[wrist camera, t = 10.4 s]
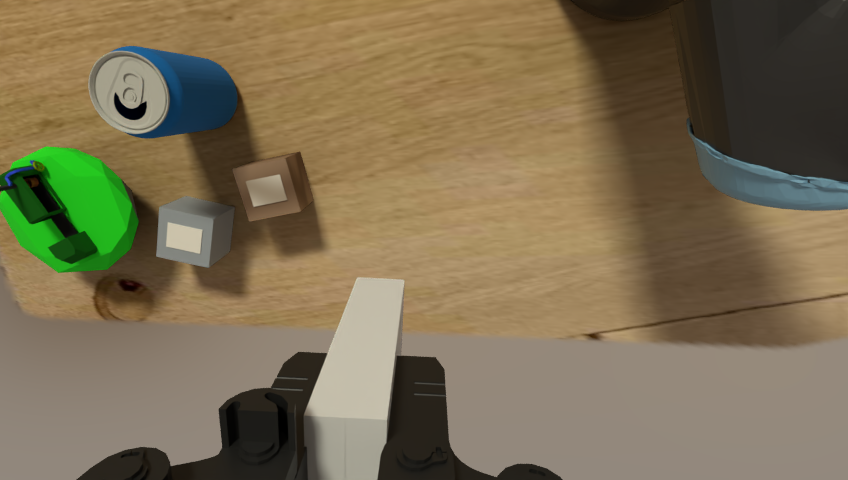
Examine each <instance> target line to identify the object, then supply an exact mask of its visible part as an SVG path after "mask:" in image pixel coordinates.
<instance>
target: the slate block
mask: <svg viewBox="0 0 848 480" xmlns="http://www.w3.org/2000/svg"><path fill="white" fill-rule="evenodd" d="M234 211H235V207H233V206H229V205H224V204H220V203H215V202H211V201H206V200H202V199H197V198H193V197H189V196H185V197H183V198H180V199H178V200H175V201H173V202H170V203H168V204H165V205H163V206H160V207H159V221H158V237H157V253H156V257H160V258H165V259H170V260H174V261H179V262H183V263H188V264H193V265H197V266H202V267H206V268H209V267H211V266H212V265H213V264H214V263H216V262H217V261H218V260H220V259H221V258H222V257H224V256H225V255H226V254H227V253H229V252H230V247H231V238H232V229H233V220H234Z"/></svg>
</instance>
